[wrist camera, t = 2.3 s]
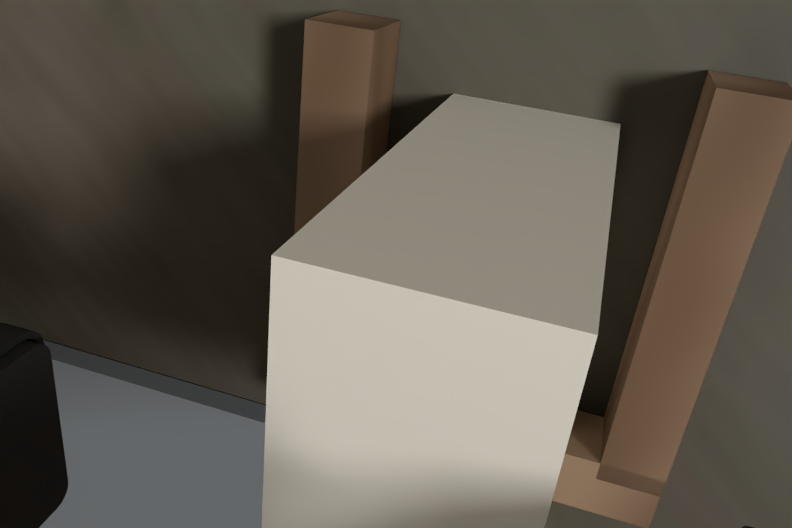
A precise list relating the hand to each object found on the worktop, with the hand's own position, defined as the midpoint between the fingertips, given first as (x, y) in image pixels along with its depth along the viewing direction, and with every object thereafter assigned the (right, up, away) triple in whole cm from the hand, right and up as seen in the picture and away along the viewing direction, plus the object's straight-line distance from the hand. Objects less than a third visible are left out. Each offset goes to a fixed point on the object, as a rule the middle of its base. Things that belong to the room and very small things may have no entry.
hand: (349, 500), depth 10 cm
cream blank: (+4, +4, +9) cm, 10 cm away
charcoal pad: (-7, -5, +16) cm, 19 cm away
